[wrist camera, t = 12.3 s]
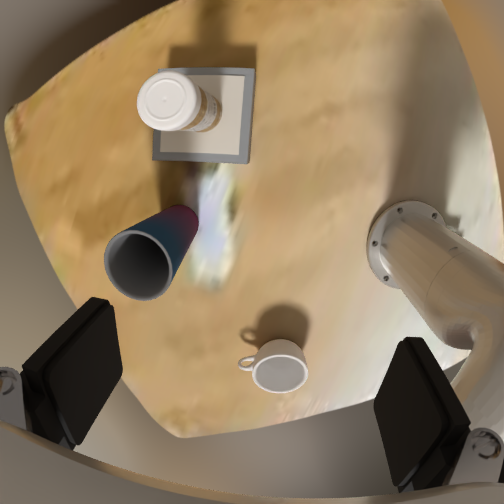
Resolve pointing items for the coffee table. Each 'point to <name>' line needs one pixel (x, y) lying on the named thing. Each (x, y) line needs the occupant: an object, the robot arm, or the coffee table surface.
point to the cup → (150, 252)
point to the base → (228, 129)
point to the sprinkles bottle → (177, 104)
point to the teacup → (278, 366)
